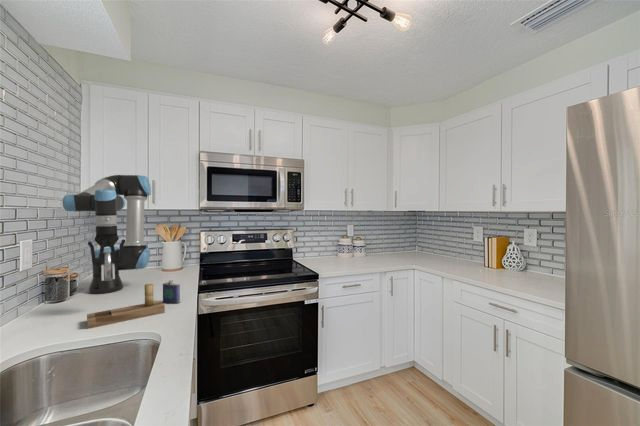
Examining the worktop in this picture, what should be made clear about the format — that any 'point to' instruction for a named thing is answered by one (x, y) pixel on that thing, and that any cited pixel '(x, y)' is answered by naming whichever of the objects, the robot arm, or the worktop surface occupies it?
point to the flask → (171, 293)
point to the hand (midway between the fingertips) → (108, 279)
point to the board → (127, 311)
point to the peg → (107, 266)
